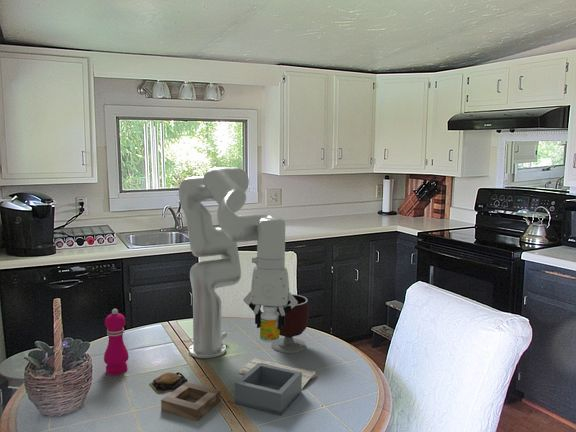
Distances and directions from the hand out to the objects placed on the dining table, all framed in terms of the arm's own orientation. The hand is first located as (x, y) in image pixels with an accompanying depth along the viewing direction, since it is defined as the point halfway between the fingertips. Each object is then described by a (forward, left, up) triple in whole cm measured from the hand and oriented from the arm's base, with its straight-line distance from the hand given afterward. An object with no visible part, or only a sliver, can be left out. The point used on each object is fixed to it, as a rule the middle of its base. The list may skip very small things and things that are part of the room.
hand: (270, 326), depth 136 cm
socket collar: (+13, -17, -21) cm, 30 cm away
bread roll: (+6, -30, -22) cm, 37 cm away
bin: (0, 0, -21) cm, 21 cm away
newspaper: (-15, -4, -22) cm, 27 cm away
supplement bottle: (0, 0, -4) cm, 4 cm away
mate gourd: (-35, -10, -21) cm, 42 cm away
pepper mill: (+6, -50, -21) cm, 55 cm away
